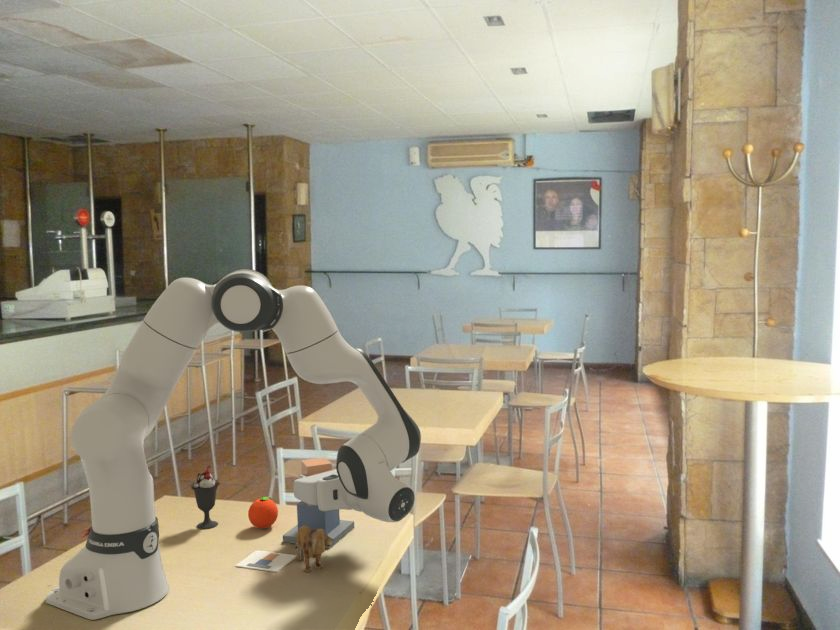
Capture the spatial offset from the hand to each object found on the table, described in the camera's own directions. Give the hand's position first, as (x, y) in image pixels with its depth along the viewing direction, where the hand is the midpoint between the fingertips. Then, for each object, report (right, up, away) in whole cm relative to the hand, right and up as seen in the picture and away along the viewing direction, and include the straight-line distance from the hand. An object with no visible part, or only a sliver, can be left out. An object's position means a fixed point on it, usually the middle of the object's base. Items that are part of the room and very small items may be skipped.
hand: (319, 473), depth 161 cm
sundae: (-28, -15, +10) cm, 33 cm away
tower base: (0, -14, +2) cm, 15 cm away
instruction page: (-10, -16, -12) cm, 22 cm away
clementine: (-14, -15, +8) cm, 22 cm away
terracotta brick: (-1, -7, +1) cm, 7 cm away
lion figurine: (0, -16, -13) cm, 21 cm away
